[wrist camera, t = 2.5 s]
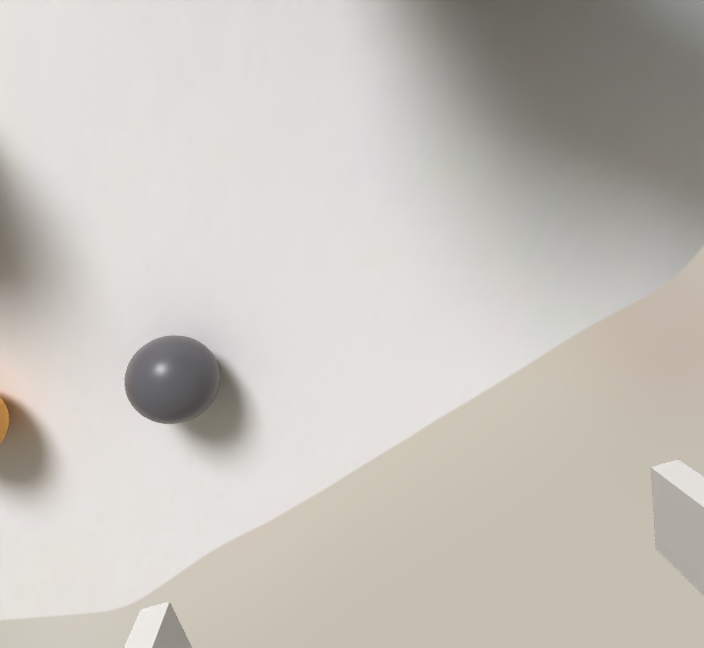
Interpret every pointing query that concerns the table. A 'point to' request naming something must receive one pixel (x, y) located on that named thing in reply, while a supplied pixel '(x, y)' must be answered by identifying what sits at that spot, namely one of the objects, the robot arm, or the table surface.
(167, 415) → the gray ball
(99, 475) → the table surface
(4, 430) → the object ball
